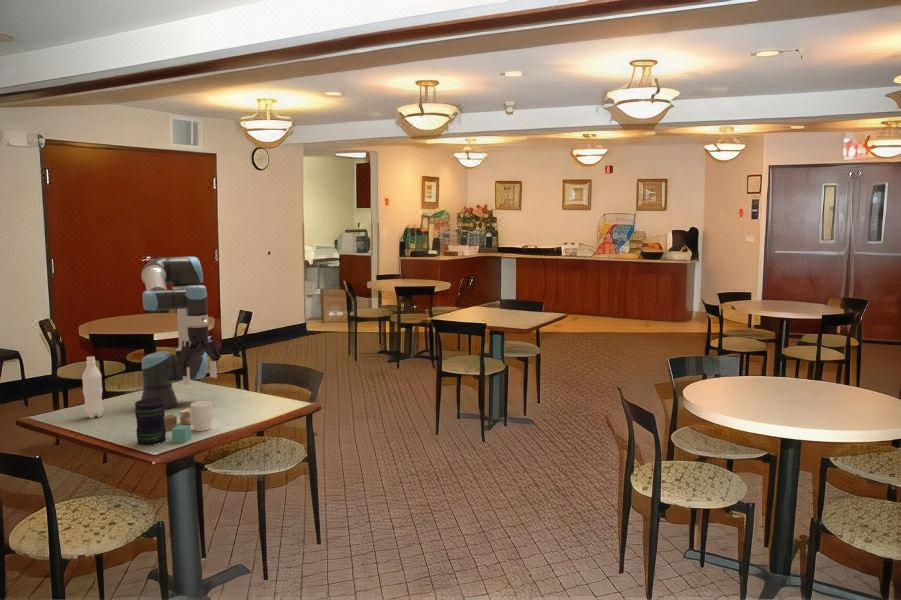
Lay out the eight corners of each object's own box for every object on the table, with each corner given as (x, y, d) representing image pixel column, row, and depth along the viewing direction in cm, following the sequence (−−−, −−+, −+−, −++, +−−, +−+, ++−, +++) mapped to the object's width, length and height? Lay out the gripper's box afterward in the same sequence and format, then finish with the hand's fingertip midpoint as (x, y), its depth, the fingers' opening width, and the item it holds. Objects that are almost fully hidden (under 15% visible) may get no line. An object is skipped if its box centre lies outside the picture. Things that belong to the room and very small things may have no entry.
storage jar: (172, 439, 260) (170, 399, 258) (151, 447, 251) (149, 406, 249) (152, 436, 263) (149, 397, 262) (130, 443, 254) (128, 403, 253)
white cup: (206, 432, 268) (205, 406, 267) (187, 431, 269) (186, 405, 268) (217, 426, 276) (216, 401, 274) (198, 425, 277) (197, 400, 276)
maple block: (180, 424, 279) (179, 411, 279) (188, 420, 284) (187, 408, 283) (191, 425, 278) (190, 412, 277) (199, 421, 283) (198, 409, 282)
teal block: (172, 442, 256) (171, 429, 255) (177, 438, 261) (177, 425, 260) (185, 442, 256) (185, 429, 255) (191, 438, 261) (190, 425, 260)
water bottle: (92, 413, 294) (89, 355, 291) (108, 414, 292) (104, 355, 290) (80, 418, 287) (76, 358, 284) (96, 419, 285) (92, 359, 283)
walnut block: (158, 429, 272) (157, 416, 272) (170, 426, 276) (170, 414, 275) (164, 431, 269) (164, 419, 268) (177, 428, 273) (176, 416, 272)
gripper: (179, 331, 255) (182, 388, 257) (228, 322, 277) (231, 375, 280) (164, 330, 258) (167, 386, 261) (214, 321, 281) (217, 373, 283)
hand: (200, 380), depth 270 cm, fingers open, 13 cm apart
